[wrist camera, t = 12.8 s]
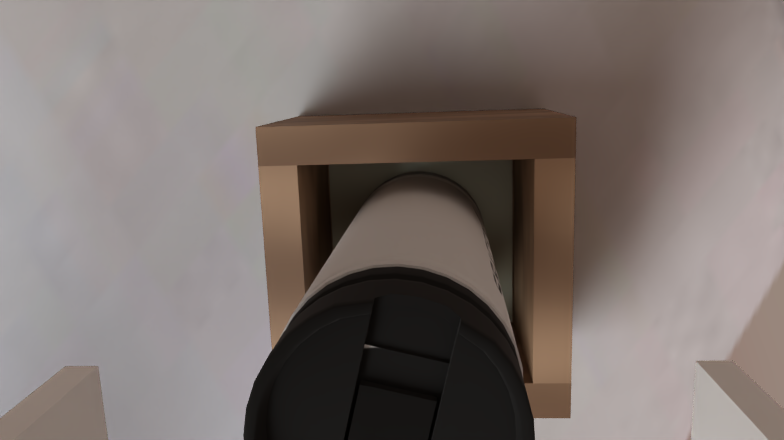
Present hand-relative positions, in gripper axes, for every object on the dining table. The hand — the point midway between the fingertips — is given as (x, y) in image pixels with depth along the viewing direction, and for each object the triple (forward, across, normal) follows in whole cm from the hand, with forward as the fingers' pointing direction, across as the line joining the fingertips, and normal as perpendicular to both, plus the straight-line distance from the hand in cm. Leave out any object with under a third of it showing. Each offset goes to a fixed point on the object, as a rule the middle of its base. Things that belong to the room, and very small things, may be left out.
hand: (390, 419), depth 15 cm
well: (+20, 0, 0) cm, 20 cm away
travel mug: (+19, 0, 0) cm, 19 cm away
